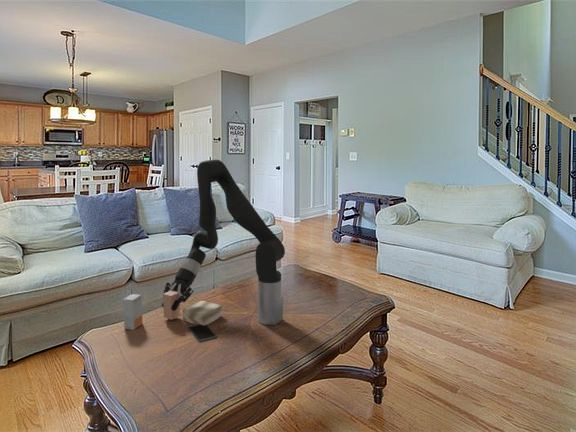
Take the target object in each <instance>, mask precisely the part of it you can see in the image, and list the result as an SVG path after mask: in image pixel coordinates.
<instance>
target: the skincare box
mask: <svg viewBox="0 0 576 432" xmlns="http://www.w3.org/2000/svg"><path fill="white" fill-rule="evenodd" d="M142 304H143V303H142V294H134V293H132V294H130V295H128V296H126V297H124V298H123V299H122V305H123V310H122V311H123V325H124V329H125V330H132V331H133V330H135V329H136V328H138V327H139V326H141V325H142V324H143V305H142Z"/></svg>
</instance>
